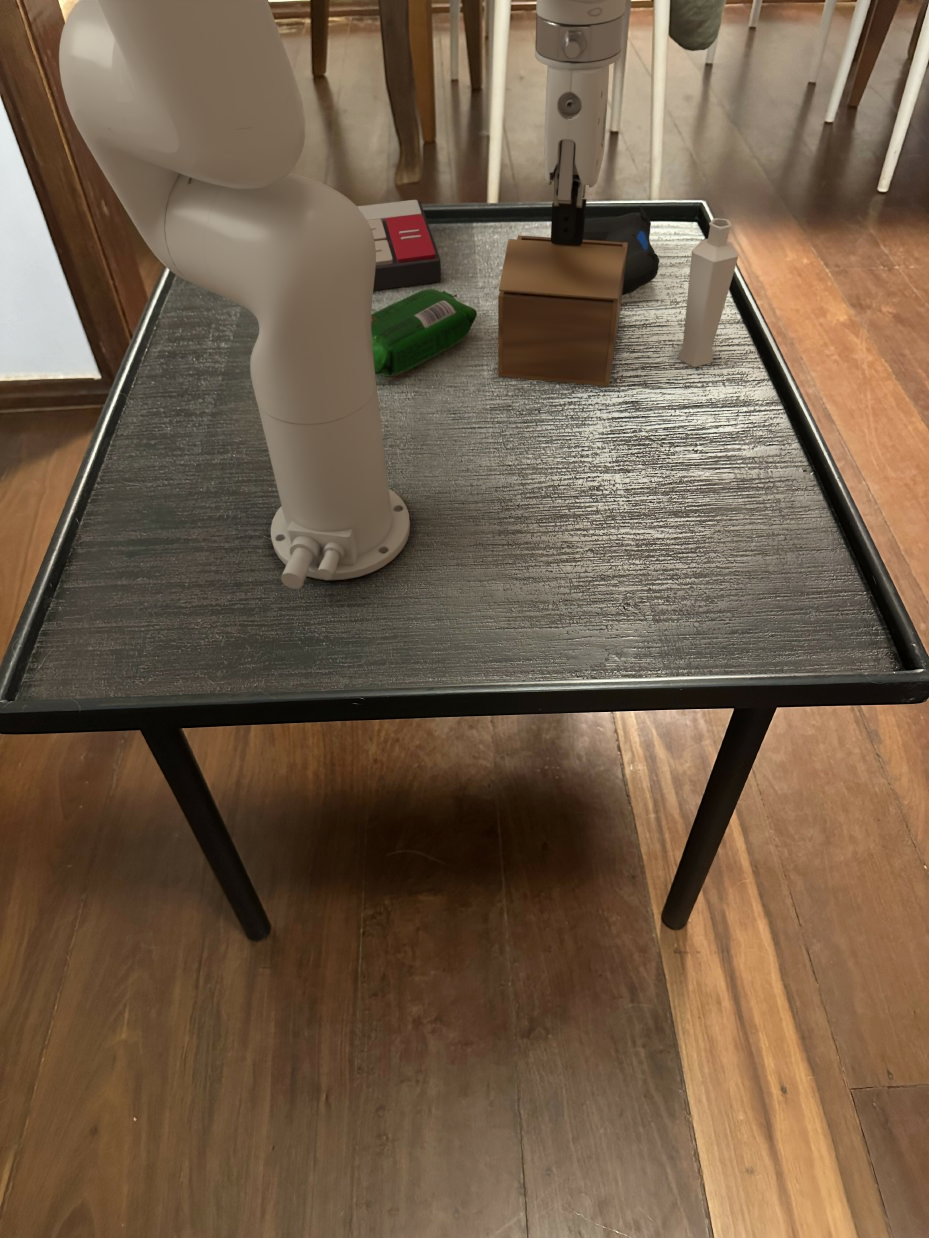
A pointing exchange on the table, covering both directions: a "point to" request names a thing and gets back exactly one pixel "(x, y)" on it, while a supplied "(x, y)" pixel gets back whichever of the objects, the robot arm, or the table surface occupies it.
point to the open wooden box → (558, 333)
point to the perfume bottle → (707, 292)
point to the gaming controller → (639, 250)
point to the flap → (562, 269)
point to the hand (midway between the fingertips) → (567, 240)
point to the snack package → (417, 330)
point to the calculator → (402, 245)
